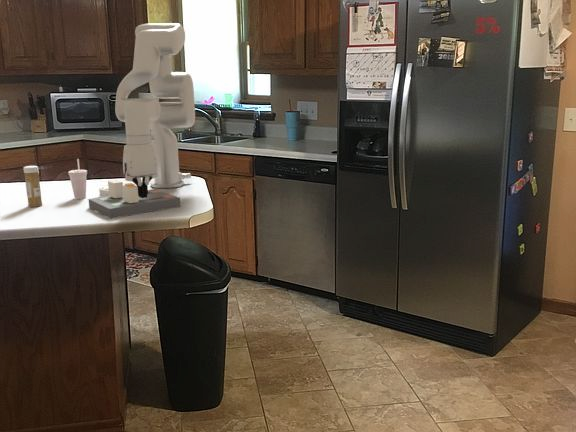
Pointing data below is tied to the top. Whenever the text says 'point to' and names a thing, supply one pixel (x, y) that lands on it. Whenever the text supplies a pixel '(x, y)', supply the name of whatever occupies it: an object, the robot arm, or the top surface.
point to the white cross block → (104, 191)
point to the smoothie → (78, 182)
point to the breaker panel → (134, 204)
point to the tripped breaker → (130, 193)
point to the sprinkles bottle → (32, 186)
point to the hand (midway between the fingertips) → (142, 197)
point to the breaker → (115, 188)
